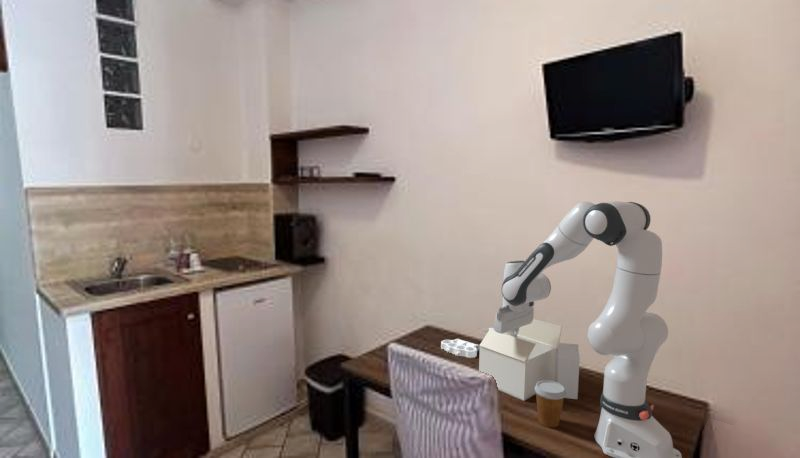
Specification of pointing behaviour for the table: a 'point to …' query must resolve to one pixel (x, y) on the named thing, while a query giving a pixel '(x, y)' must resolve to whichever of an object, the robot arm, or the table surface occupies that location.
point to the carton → (519, 369)
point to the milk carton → (567, 368)
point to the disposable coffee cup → (549, 402)
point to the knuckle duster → (460, 348)
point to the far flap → (541, 332)
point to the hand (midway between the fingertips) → (513, 339)
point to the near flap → (507, 345)
